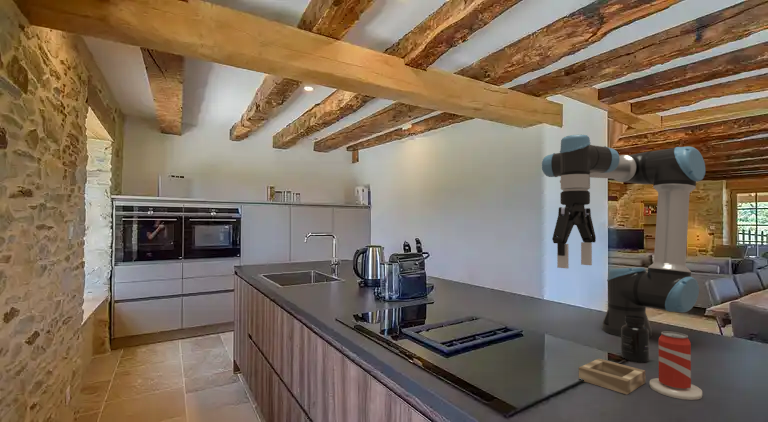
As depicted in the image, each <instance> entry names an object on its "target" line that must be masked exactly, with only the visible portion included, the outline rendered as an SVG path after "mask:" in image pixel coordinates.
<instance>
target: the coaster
mask: <svg viewBox="0 0 768 422" xmlns="http://www.w3.org/2000/svg"><path fill="white" fill-rule="evenodd" d="M649 388H650V389H652V391H654V392H656V393H657V394H661V395H663V396H666V397H669V398H674V399H678V400H685V401H686V400H687V401H696V400H701V399H702V398H703V390H702V389H701V388H699V387H698V386H697V385H694V384H692V383H691V388H687V389H686V390H677V389H672V388H669V387H666V386H665V385H663V384H662V383H661V382H660V381H659V377H656V378H651V379H649Z"/></svg>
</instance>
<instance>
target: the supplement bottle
mask: <svg viewBox="0 0 768 422" xmlns="http://www.w3.org/2000/svg"><path fill="white" fill-rule="evenodd" d="M625 323H626V324H625V325H623V326H622V328H621V336H620V340H621V341H620V344H621V345H620V347H621V348H620V349H621V350H620V351H621V353H620V354H621V357H622V358H623V359H624V358H625V359H624V360H626V359H627V360H626V361H629V362H634V363H647V362H648V361H649V360H650V337H649V331H648V329H647V328H645V327H644V325H645V318H643V317H639V316H631V315H628V316H625Z"/></svg>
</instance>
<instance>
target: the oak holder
mask: <svg viewBox="0 0 768 422" xmlns="http://www.w3.org/2000/svg"><path fill="white" fill-rule="evenodd" d="M579 378H581V379H583V380H584V381H583V382H585V383H588V384H591V385H595V386H598V387H602V388H604V389H608V390H612V391H615V392H618V393H621V394H624V395H630V394H631V393H632V392H634V391H635V390H637V389H638V388H640V387H642V386H643V385H645V384H646V370H644V369H642V368H641V369H640V368H637V367H632V366H629V365H625V364H621V363H617V362H614V361H610V360H606V359H601V358H597V359H595V360H592V361H590V362H588V363H586V364H584V365H581V366H579V367H578V379H579Z"/></svg>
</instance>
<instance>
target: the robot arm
mask: <svg viewBox="0 0 768 422" xmlns="http://www.w3.org/2000/svg"><path fill="white" fill-rule="evenodd" d="M541 170H542V172H543V174H544V175H545V176H546V177H548V178H559V177H560V180H559V183H560V190H562V191H561V192H560V197H559V198H560V204H561V205H563V206H564V207H563V206H562V207H561V206H560V207H558V214H557V218H556V219H557V220H556V222H555V226H554V231H553V233H552V240H551V241H552V243H553V244H556V245H557V246H556V247H557V253H556V254H557V255H556V256H557V257H556V258H557V262H556V263H557V268H559V269H569V268H570V267H569V265H570V264H569V243H567V242H568V240H569V238H570V235H571V233H572V231H573V227H574V226H576V228H577V230H578V233H579V234H580V237H581V242H580V265H582V266H592V265H593V259H592V258H593V256H592V255H593V246H592V245H593V244H592V243H596V240H597V238H596V237H597V236H596V233H595V228H594V224H593V218H592V215H591V214H592V212H591V208H589V207H588V208H586V207H585V206H587V205H590V203H591V192H590V191H589V190H590V189H591V178H594V179H596V178H597V179H611V180H612V179H613V180H615V181H616V182H620V183H627V184H629V183H630V184H637V185H652V186H653V189H654V190H655V191H656V192H657V207H656V224H655V239H654V251H653V254H654V255H653V263H652V264H650V265H648V267H647V269H646V268H645V267H644V266H642V267H617V268H616V267H615V268H610V269H608V273H607V280H606V281H607V311H606V312H605V315H604V318H603V322H602V330H603V332H605V333H608V334H610V335H614V336H619V337H621V328H622V326H623V325H625V324H626V323H625V316H628V315H631V316H639V317H643V318H645V325H644V327H645V328H647V329H648V331H649V338H651V337H652V335H653V333H652V332H653V329H652V327H651V326H652V325H651V324H650V321H649V318H648V315H647V313H646V312H647V311H646V310H647V309H646V308H653V309H658V310H663V311H667V312H670V313H672V312H673V313H674V312H675V313H681V314H682V313H686V312H689V311H690V310H692V309H693V307H694V306H695V305H696V303H697V300H698V298H699V293H700V286H699V282H698V280H697V279H696V278H695V277H692V271H691V270H690V269H689V268H688V267H687V266H686V265H687V264H686V263H687V262H686V261H687V244H688V230H689V229H688V227H689V210H690V193H691V192H693V191H694V190H695V189H696V188H697V187H696V186H697V182H700V181H702V180H703V179H704V178H705V175H706V162H705V160H704V158H703V155H702V154H701V152H700V151H699V149H697V148H695V147H693V146H676V147H672V148H666V149H665V148H663V149H657V150H650V151H645V152H639V153H633V154H621V155H620V154H619V152H618V151H617V150H616V149H614V148H612V147H608V146H605V145H604V146H601V145H600V146H599V145H594V144H593V145H592V144H591V140H590V136H588V134H587V135H586V134H571V135H570V134H569V135H567V136H564V137H562V138H561V139H560V151H559V152H558V153H555V152H554V153H551V154H548V155H546V156H545V157H543V159H542V160H541Z"/></svg>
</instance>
